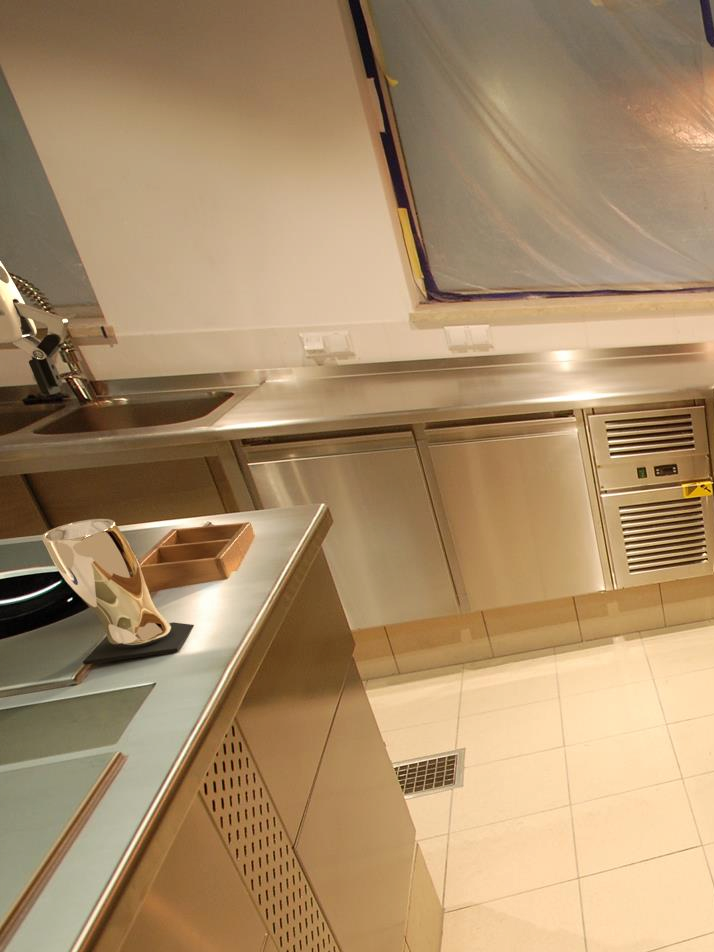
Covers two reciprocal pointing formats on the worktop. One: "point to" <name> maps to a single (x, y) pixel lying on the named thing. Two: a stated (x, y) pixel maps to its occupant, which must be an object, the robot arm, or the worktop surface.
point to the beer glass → (107, 580)
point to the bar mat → (162, 646)
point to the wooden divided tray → (196, 555)
